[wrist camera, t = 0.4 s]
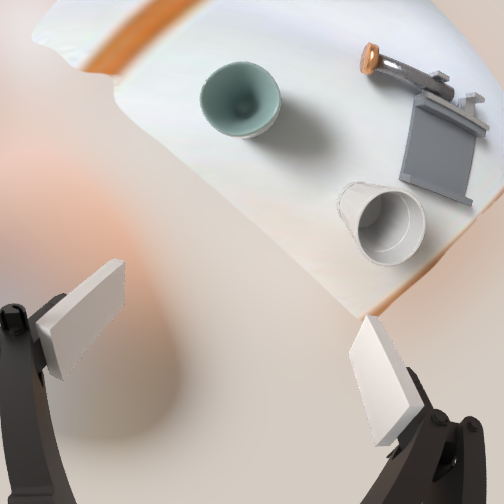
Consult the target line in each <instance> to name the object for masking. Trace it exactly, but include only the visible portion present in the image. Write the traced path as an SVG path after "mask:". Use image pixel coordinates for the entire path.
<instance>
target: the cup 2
mask: <svg viewBox="0 0 504 504" xmlns="http://www.w3.org/2000/svg"><path fill="white" fill-rule="evenodd" d="M337 211H338V214H339V216H340V218H341V219H342V220H343V221H344V223H345V224H346V226H347V228H348V229H349V231H350V233H351V234H352V236H353V238H354V240H355V242H356V244H357V245H358V247H359V249H360V251H361V253H362V254H363V255H364V256H365V257H366V258H367V259H368V260H369V261H371V262H373V263H375V264H377V265H381V266H393V265H397V264H400V263H402V262H404V261H406V260H407V259H409V258H410V257H411V256H412V255H413V254H414V253H415V252H416V251H417V249H418V248H419V246H420V244H421V242H422V240H423V237H424V234H425V227H426V220H425V214H424V210H423V208H422V206H421V204H420V202H419V201H418V200H417V198H416V197H415V196H414V195H412V194H411V193H409V192H408V191H406V190H403V189H399V188H392V187H386V186H380V185H374V184H368V183H365V182H353V183H350V184H348V185H347V186H345V187H344V188H343V189H342V190H341V192H340V194H339V196H338V199H337Z"/></svg>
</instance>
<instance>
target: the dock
mask: <svg viewBox="0 0 504 504" xmlns="http://www.w3.org/2000/svg"><path fill="white" fill-rule="evenodd" d="M485 135H486V131H485V130H484V129H482V128H480V127H479V126H477V125H475V124H474V123H472V122H470V121H469V120H467V119H465V118H463V117H462V116H460V115H458V114H456V113H454V112H453V111H451V110H449V109H447V108H445V107H443V106H441V105H439V104H437V103H435V102H433V101H431V100H429V99H427V98H421V99H417V100H414V103H413V110H412V116H411V122H410V128H409V134H408V139H407V144H406V149H405V154H404V159H403V163H402V168H401V172H400V177H399V180H402V181H405V182H408V183H411V184H414V185H417V186H420V187H422V188H425V189H428V190H430V191H433V192H436V193H438V194H441V195H443V196H446V197H448V198H451V199H453V200H456V201H458V202H461V203H463V204H466V205H468V206H472V202H473V200H471V199H469V198H467V197H464V194H465V190H466V186H467V182H468V177H469V172H470V167H471V162H472V157H473V151H474V145H475V138H476V137H485Z"/></svg>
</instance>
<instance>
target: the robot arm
mask: <svg viewBox="0 0 504 504" xmlns="http://www.w3.org/2000/svg"><path fill="white" fill-rule="evenodd" d="M124 282H125V262H124V261H121V260H118V259H111V260H110V261H109V262H107V263H106V264H105V265H104V266H102V267H101V268H100V269H99V270H97V271H96V272H95V273H93V274H92V275H91V276H90V277H89V278H87V279H86V280H85V281H83V282H82V283H81V284H80V285H79V286H77V287H76V288H75V289H74V290H73V291H71V292H70V293H69V294H68V295H67V294H64V293H62V294H60V295H57V296H55V297H54V298H52V299H51V300H50V301H49V302H48V303H46V304H45V305H44V306H43V307H42V308H40V309H39V310H38V311H37V312H36V313H34V314H33V315H32V316H31V317H30V318H29V319H27V314H26V310H25V308H24V307H23V306H22V305H20V304H8V305H6V306H4V307H2V308H1V309H0V324H1V327H0V417H1V429H2V438H3V447H4V453H5V460H6V465H7V471H8V476H9V481H10V484H11V490H12V493H11V495H10V496H9V497H8V504H77V503H76V501H75V498H74V496H73V493H72V491H71V488H70V485H69V482H68V480H67V476H66V473H65V470H64V467H63V465H62V461H61V457H60V454H59V450H58V447H57V443H56V439H55V435H54V431H53V426H52V422H51V417H50V411H49V406H48V400H47V394H46V388H45V381H44V374H43V371H42V369H43V368H44V367H45V366H46V365H47V367H48V370H49V373H50V375H52V376H54V377H56V378H58V379H60V380H62V381H64V379H65V378H66V377H67V376H68V374H69V373H70V372H71V370H72V369H73V368H74V367H75V365H76V364H77V363H78V361H79V360H80V359H81V358H82V356H83V355H84V354H85V352H86V351H87V350H88V349H89V347H90V346H91V345H92V344H93V342H94V341H95V340H96V339H97V338H98V336H99V335H100V334H101V333H102V331H103V330H104V329H105V328H106V327H107V325H108V324H109V323H110V322H111V320H112V319H113V318H114V317H115V316H116V315H117V313H118V312H119V311H120V310H121V309H122V308H123V306H124ZM348 355H349V358H350V361H351V364H352V368H353V371H354V374H355V377H356V380H357V384H358V387H359V390H360V394H361V397H362V400H363V404H364V407H365V411H366V414H367V418H368V421H369V425H370V429H371V432H372V436H373V439H374V444H375V446H390V445H391V444H392V443H393V442H394V440H395V439H396V438H398V441H399V445H398V446H397V447H396V448H395V449H394V450H393V451H392V452H391V453H390V454H389V455H388V456H387V458H389V457H390V456H391V457H390V458H389V460H388V462H387V463H386V465H385V467H384V469H383V470H382V472H381V473H380V475H379V477H378V478H377V480H376V481H375V483H374V484H373V486H372V487H371V489H370V490H369V492H368V493H367V495H366V496H365V498H364V499H363V501H362V502H361V503H360V504H486V456H485V443H484V433H483V428H482V425H481V423H480V421H478V420H477V419H476V418H474V417H472V416H468V417H465V418H464V419H463V420H462V422H461V423H455V422H450V420H449V418H448V416H447V415H446V414H445V413H444V412H442V411H441V410H438V409H433V407H432V404H431V402H430V400H429V398H428V396H427V395H426V392H425V390H424V389H423V387H422V385H421V383H420V381H419V379H418V377H417V375H416V374H415V373H414V372H413V371H412V369H410V367H405V365H404V363H403V362H402V359H401V357H400V355H399V353H398V352H397V350H396V348H395V346H394V344H393V342H392V340H391V339H390V337H389V335H388V333H387V331H386V329H385V328H384V326H383V324H382V322H381V321H380V319H379V317H377V316H371V315H366V317H365V319H364V321H363V324H362V326H361V328H360V330H359V332H358V334H357V337H356V339H355V341H354V343H353V345H352V347H351V349H350V351H349V353H348ZM455 460H456V463H455Z"/></svg>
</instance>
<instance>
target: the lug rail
mask: <svg viewBox="0 0 504 504" xmlns="http://www.w3.org/2000/svg"><path fill="white" fill-rule="evenodd" d="M429 75H430V76H432V77H434V78H436V79H438V80H440V81H442V82H448V81H449V76H447V75H445V74H444V73H442V72H440V71H435V72H433V73H430V74H429ZM421 98H427V99H429V100H431V101H433V102H435V103H437V104H439V105H441V106H443V107H445V108H447V109H449V110H451V111H453V112H454V113H456V114H458V115H460V116H462V117H463V118H465V119H467V120H469V121H470V122H472V123H474V124H475V125H477V126H479V127H480V128H482V129H484V130H485V131H489V126H488V125H487V124H485V123H483V122H482V121H480V120H479V119H477V118H475V117H474V110H475V103H484V101H485V98H483V97H482V96H480V95H479V94H477V93H476V92H474V93H468V94H466V98H462V99H458V107H457V106H455V105H453V104H451V103H449V102H447V101H446V100H444V99H442V98H440V97H438V96H436V95H434V94H432V93H430V92H427V91H425V90H423V89H421V94H418V95H415V96H414V100H417V99H421Z"/></svg>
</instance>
